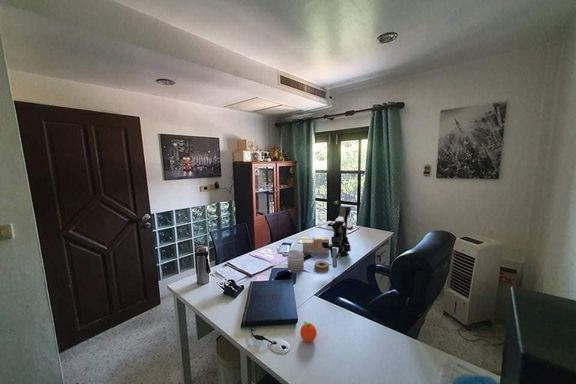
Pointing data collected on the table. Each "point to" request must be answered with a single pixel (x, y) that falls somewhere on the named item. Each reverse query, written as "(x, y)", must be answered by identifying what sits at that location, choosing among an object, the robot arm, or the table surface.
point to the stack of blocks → (315, 245)
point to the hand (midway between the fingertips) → (334, 258)
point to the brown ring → (321, 266)
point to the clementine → (308, 332)
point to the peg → (334, 258)
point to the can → (295, 261)
